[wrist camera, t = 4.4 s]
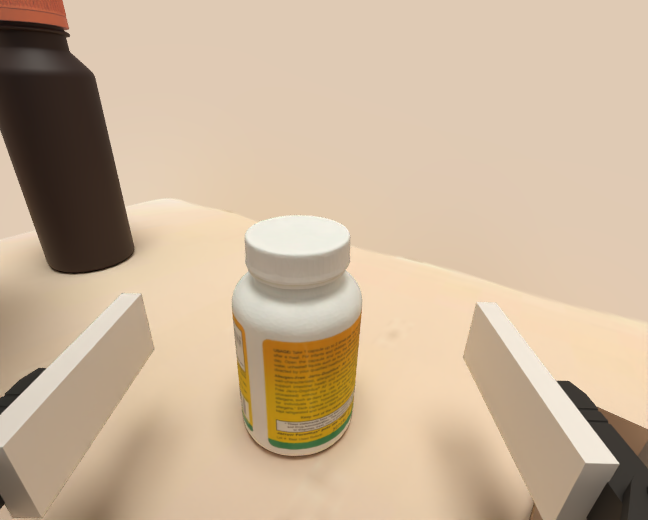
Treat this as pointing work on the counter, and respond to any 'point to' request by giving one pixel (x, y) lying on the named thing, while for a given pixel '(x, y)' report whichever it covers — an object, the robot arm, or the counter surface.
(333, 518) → the counter surface
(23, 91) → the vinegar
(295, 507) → the counter surface
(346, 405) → the supplement bottle
